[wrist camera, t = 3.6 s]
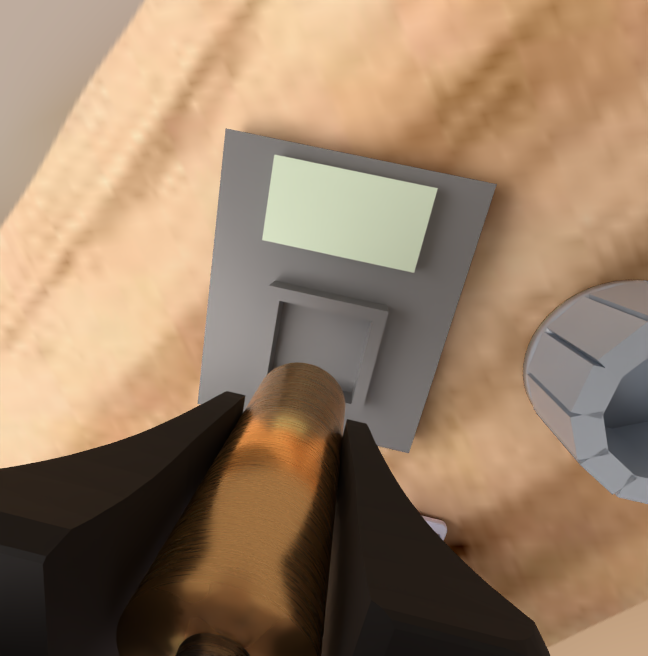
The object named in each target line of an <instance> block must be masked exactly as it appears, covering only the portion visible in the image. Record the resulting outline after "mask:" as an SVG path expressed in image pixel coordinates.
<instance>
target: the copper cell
mask: <svg viewBox="0 0 648 656" xmlns="http://www.w3.org/2000/svg"><path fill="white" fill-rule="evenodd" d="M344 417H345V397H344V394H343V391H342V389H341V387H340V385H339V384H338V382H337V381H336V380H335V378H334V377H333V376H332V375H330V374H329V373H328V372H327V371H325V370H323V369H322V368H320V367H317V366H315V365H312V364H308V363H300V362H296V363H288V364H284V365H281V366H279V367H277V368H275V369H274V370H272V371H271V372H270V373H268V374H267V375H266V377H265V378H264V379H263V381H262V382H261V384H260V386H259V387H258V389H257V391H256V392H255V394H254V396H253V397H252V399H251V401H250V402H249V404H248V406H247V407H246V409H245V411H244V412H243V414H242V416H241V417H240V419H239V421H238V422H237V424H236V425H235V427H234V429H233V430H232V432H231V434H230V435H229V437H228V439H227V440H226V442H225V444H224V445H223V447H222V449H221V450H220V452H219V454H218V455H217V457H216V459H215V460H214V462H213V464H212V465H211V467H210V469H209V470H208V472H207V474H206V475H205V477H204V479H203V480H202V482H201V484H200V485H199V487H198V489H197V490H196V492H195V494H194V495H193V497H192V498H191V500H190V502H189V503H188V505H187V507H186V508H185V510H184V512H183V513H182V515H181V517H180V518H179V520H178V522H177V523H176V525H175V527H174V528H173V530H172V532H171V533H170V535H169V537H168V538H167V540H166V542H165V543H164V545H163V547H162V548H161V550H160V552H159V553H158V555H157V557H156V558H155V560H154V562H153V563H152V565H151V567H150V568H149V570H148V572H147V573H146V575H145V576H144V578H143V580H142V581H141V583H140V585H139V586H138V588H137V590H136V591H135V593H134V595H133V596H132V598H131V600H130V601H129V603H128V605H127V606H126V608H125V610H124V611H123V613H122V615H121V617H120V619H119V622H118V625H117V630H116V644H117V649H118V653H119V656H321V654H322V643H323V633H324V623H325V613H326V602H327V592H328V582H329V571H330V561H331V551H332V540H333V530H334V520H335V509H336V499H337V489H338V478H339V468H340V455H341V445H342V437H343V427H344Z"/></svg>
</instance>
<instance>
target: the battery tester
mask: <svg viewBox="0 0 648 656" xmlns="http://www.w3.org/2000/svg"><path fill="white" fill-rule="evenodd" d="M496 185H497V184H493V183H488V182H483V181H478V180H474V179H469V178H464V177H459V176H454V175H449V174H444V173H440V172H435V171H430V170H425V169H420V168H415V167H410V166H406V165H401V164H396V163H391V162H386V161H381V160H376V159H372V158H367V157H362V156H357V155H352V154H347V153H342V152H338V151H333V150H328V149H323V148H318V147H313V146H308V145H304V144H299V143H294V142H289V141H284V140H279V139H274V138H269V137H265V136H260V135H255V134H250V133H245V132H240V131H235V130H231V129H226V131H225V141H224V151H223V161H222V170H221V180H220V190H219V200H218V210H217V219H216V229H215V239H214V249H213V259H212V268H211V278H210V288H209V298H208V308H207V317H206V327H205V337H204V347H203V356H202V366H201V376H200V386H199V396H198V404H203V403H205V402H207V401H209V400H210V399H212V398H214V397H216V396H218V395H220V394H222V393H224V392H226V391H229V392H233V393H238V394H242V395H246V396H245V402H244V409H243V412H244V411H245V409H246V407H247V406H248V404H249V402H250V401H251V399H252V397H253V396H254V394H255V392H256V391H257V389H258V387H259V386H260V384H261V382H262V381H263V379H264V378H265V377H266V375H267V374H268V373H270V372H271V371H272V370H274V369H275V368H277V367H279V366H281V365H284V364H288V363H296V362H300V363H308V364H312V365H315V366H317V367H320V368H322V369H323V370H325V371H327V372H328V373H329V374H330V375H332V376H333V377H334V378H335V380H336V381H337V382H338V384H339V385H340V387H341V389H342V391H343V394H344V397H345V417H344V427H343V433H344V429H345V425H346V421H347V419H349V420H353V421H358V422H362V423H366V424H367V425H368V427H369V429H370V431H371V433H372V436H373V438H374V440H375V442H376V444H377V446H380V447H385V448H389V449H393V450H397V451H402V452H406V453H409V451H410V448H411V445H412V442H413V439H414V436H415V433H416V430H417V427H418V424H419V421H420V417H421V414H422V411H423V408H424V405H425V402H426V399H427V396H428V393H429V390H430V387H431V384H432V381H433V378H434V375H435V372H436V368H437V365H438V362H439V359H440V356H441V353H442V350H443V347H444V344H445V341H446V338H447V335H448V332H449V329H450V326H451V323H452V320H453V316H454V313H455V310H456V307H457V304H458V301H459V298H460V295H461V292H462V289H463V286H464V283H465V280H466V277H467V274H468V271H469V268H470V264H471V261H472V258H473V255H474V252H475V249H476V246H477V243H478V240H479V237H480V234H481V231H482V228H483V225H484V222H485V219H486V216H487V212H488V209H489V206H490V203H491V200H492V197H493V194H494V191H495V188H496Z"/></svg>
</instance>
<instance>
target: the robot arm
mask: <svg viewBox="0 0 648 656" xmlns="http://www.w3.org/2000/svg"><path fill="white" fill-rule="evenodd" d="M245 396H246V395H242V394H238V393H233V392H229V391H226V392H224V393H222V394H220V395H218V396H216V397H214V398H212V399H210V400H209V401H207V402H205V403H203V404H201V405H199V406H197V407H195V408H194V409H192V410H190V411H188V412H186V413H184V414H182V415H180V416H178V417H176V418H174V419H171V420H169V421H167V422H165V423H163V424H160V425H158V426H156V427H154V428H152V429H149V430H147V431H144V432H142V433H139V434H137V435H134V436H131V437H128V438H126V439H123V440H120V441H117V442H114V443H111V444H108V445H104V446H101V447H97V448H93V449H90V450H86V451H83V452H79V453H76V454H72V455H68V456H64V457H59V458H55V459H50V460H46V461H41V462H36V463H31V464H26V465H20V466H14V467H9V468H2V469H0V656H119V653H118V649H117V644H116V630H117V625H118V622H119V619H120V617H121V615H122V613H123V611H124V610H125V608H126V606H127V605H128V603H129V601H130V600H131V598H132V596H133V595H134V593H135V591H136V590H137V588H138V586H139V585H140V583H141V581H142V580H143V578H144V576H145V575H146V573H147V572H148V570H149V568H150V567H151V565H152V563H153V562H154V560H155V558H156V557H157V555H158V553H159V552H160V550H161V548H162V547H163V545H164V543H165V542H166V540H167V538H168V537H169V535H170V533H171V532H172V530H173V528H174V527H175V525H176V523H177V522H178V520H179V518H180V517H181V515H182V513H183V512H184V510H185V508H186V507H187V505H188V503H189V502H190V500H191V498H192V497H193V495H194V494H195V492H196V490H197V489H198V487H199V485H200V484H201V482H202V480H203V479H204V477H205V475H206V474H207V472H208V470H209V469H210V467H211V465H212V464H213V462H214V460H215V459H216V457H217V455H218V454H219V452H220V450H221V449H222V447H223V445H224V444H225V442H226V440H227V439H228V437H229V435H230V434H231V432H232V430H233V429H234V427H235V425H236V424H237V422H238V421H239V419H240V417H241V416H242V414H243V409H244V402H245ZM446 533H447V526H446V524H445V522H444V521H441V520H438V519H434V518H430V517H426V516H421V514H420V513H419V512H418V511H417V509H416V508H415V507H414V505H413V504H412V503H411V502H410V500H409V499H408V497H407V496H406V495H405V493H404V492H403V490H402V489H401V487H400V485H399V484H398V482H397V481H396V479H395V477H394V476H393V474H392V472H391V471H390V469H389V467H388V465H387V463H386V462H385V460H384V458H383V456H382V454H381V452H380V450H379V448H378V446H377V444H376V442H375V440H374V438H373V436H372V433H371V431H370V429H369V427H368V425H367V424H366V423H362V422H358V421H353V420H349V419H347V421H346V425H345V429H344V433H343V437H342V445H341V455H340V468H339V478H338V489H337V499H336V509H335V520H334V530H333V540H332V551H331V561H330V571H329V582H328V592H327V602H326V613H325V623H324V633H323V643H322V654H321V656H550V654H549V651H548V649H547V647H546V645H545V643H544V641H543V639H542V637H541V635H540V632H539V630H538V628H537V626H536V624H535V622H534V621H532V620H531V619H530V618H529V617H528V616H526V615H525V614H524V613H523V612H521V611H520V610H519V609H518V608H517V607H515V606H514V605H513V604H512V603H510V602H509V601H508V600H507V599H505V598H504V597H503V596H502V595H501V594H499V593H498V592H497V591H496V590H494V589H493V588H492V587H491V586H490V585H488V584H487V583H486V582H485V581H484V580H483V579H482V578H481V577H480V576H479V575H478V574H476V573H475V572H474V571H473V570H472V569H471V568H470V567H469V566H468V565H467V564H466V563H465V562H464V561H463V560H462V559H461V558H460V557H459V556H458V555H457V554H455V553H454V552H453V551H452V549H451V548H450V547H449V546H448V545H447V544H446V543H445V542H444V538H445V536H446Z"/></svg>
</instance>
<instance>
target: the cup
mask: <svg viewBox="0 0 648 656" xmlns="http://www.w3.org/2000/svg"><path fill="white" fill-rule="evenodd" d="M523 380H524V386H525V390H526V393H527V396H528V398H529V400H530V402H531V404H532V405H533V407H534V410H535V411H536V413H537V415H538V416H539V417H540V418H541V419H542V420H543V422H544V423H545V424H546V425H547V426H548V428H549V429H550V430H551V431H552V432H553V433H554V435H555V436H556V437H557V438H558V439H559V440H560V442H561V443H562V444H563V445H564V446H565V448H566V449H567V450H568V451H569V452H570V453H571V455H572V456H573V457H574V458H575V459H576V460H577V462H578V463H579V464H580V465H581V466H582V467H583V468H584V469H585V470H586V471H587V472H589V473H590V474H591V475H592V476H593V477H594V478H595V479H596V480H597V481H598V482H599V483H601V484H602V485H603V486H604V487H605V488H606V489H607V490H608V491H609V492H610V493H611V494H612V495H613V494H615V495H616V496H617V497H619V498H624V499H628V500H632V501H637V502H641V503H645V504H648V281H646V280H620V281H613V282H608V283H604V284H600V285H597V286H594V287H591V288H589V289H586V290H584V291H582V292H580V293H578V294H576V295H574V296H573V297H571V298H569V299H568V300H566V301H565V302H563V303H562V304H561V305H559V306H558V307H557V308H556V309H555V310H554V311H552V312H551V313H550V314H549V315H548V316H547V317H546V319H545V320H544V321H543V322H542V323H541V324H540V326H539V327H538V329H537V330H536V332H535V333H534V335H533V337H532V339H531V341H530V343H529V345H528V348H527V351H526V354H525V358H524V364H523Z"/></svg>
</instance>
